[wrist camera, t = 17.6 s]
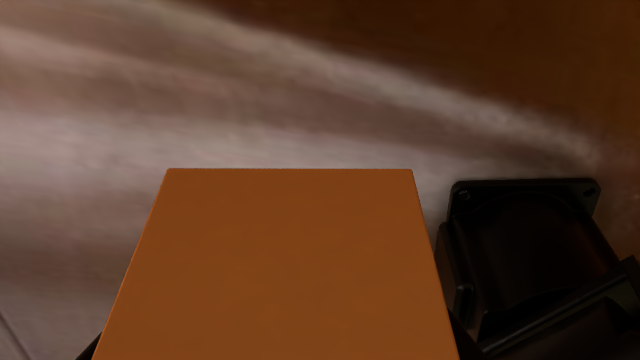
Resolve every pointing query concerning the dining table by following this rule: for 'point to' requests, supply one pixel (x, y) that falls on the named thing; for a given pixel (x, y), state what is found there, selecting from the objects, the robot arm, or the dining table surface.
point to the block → (282, 270)
